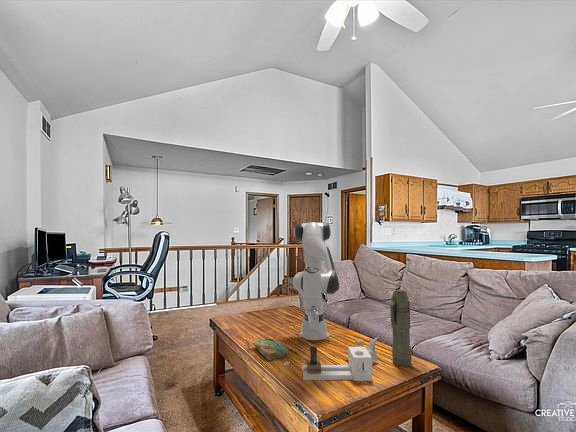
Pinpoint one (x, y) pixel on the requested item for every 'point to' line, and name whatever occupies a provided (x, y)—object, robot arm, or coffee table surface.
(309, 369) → the carriage
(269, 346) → the puzzle game
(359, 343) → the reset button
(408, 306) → the thermos
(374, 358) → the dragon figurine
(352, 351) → the rail base
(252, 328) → the coffee table surface
